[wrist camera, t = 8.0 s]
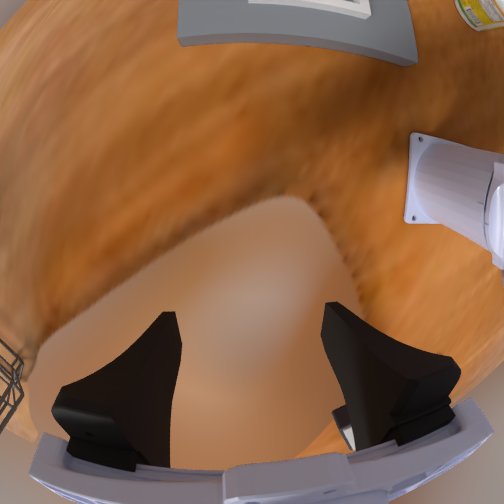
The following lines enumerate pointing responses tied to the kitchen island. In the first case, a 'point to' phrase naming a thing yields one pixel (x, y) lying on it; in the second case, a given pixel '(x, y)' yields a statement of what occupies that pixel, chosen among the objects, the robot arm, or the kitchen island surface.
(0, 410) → the geometric lantern
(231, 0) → the display plinth
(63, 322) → the kitchen island surface
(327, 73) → the kitchen island surface
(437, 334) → the kitchen island surface
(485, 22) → the supplement bottle
